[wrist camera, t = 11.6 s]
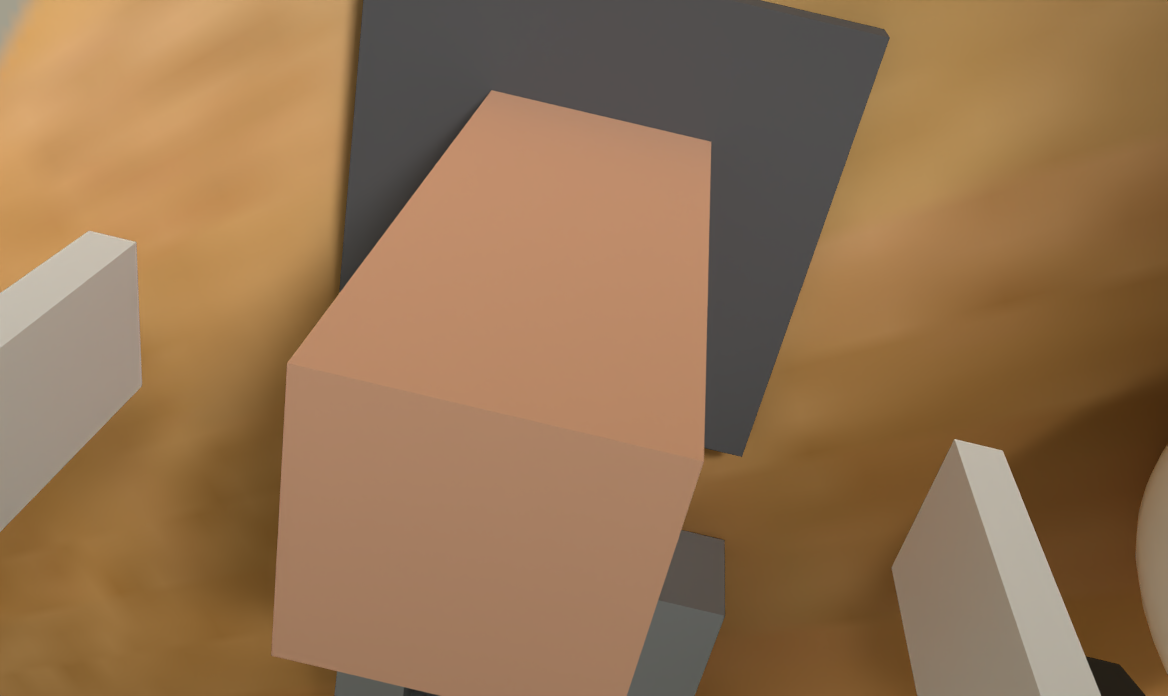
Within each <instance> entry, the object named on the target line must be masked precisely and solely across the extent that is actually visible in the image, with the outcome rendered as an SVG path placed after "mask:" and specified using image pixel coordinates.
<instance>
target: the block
mask: <svg viewBox="0 0 1168 696" xmlns="http://www.w3.org/2000/svg"><path fill="white" fill-rule="evenodd" d="M710 177H711V142H710V141H706V140H702V139H697V138H693V137H689V136H685V135H680V134H676V133H672V132H667V131H663V130H659V129H655V128H650V127H646V126H642V125H638V124H633V123H629V122H625V121H621V120H616V119H612V118H608V117H604V116H599V115H595V114H591V113H587V112H582V111H578V110H574V109H570V108H565V107H561V106H557V105H553V104H548V103H544V102H540V101H535V100H531V99H527V98H523V97H518V96H514V95H510V94H506V93H501V92H497V91H493V90H491V92H490V93H489V94H488V96H487V97H486V98H485V100H484V101H483V102H482V104H481V105H480V106H479V108H478V109H477V110H476V112H475V113H474V114H473V116H472V117H471V118H470V120H469V121H468V122H467V124H466V125H465V126H464V128H463V129H462V130H461V132H460V133H459V134H458V136H457V137H456V138H455V140H454V141H453V142H452V144H451V145H450V146H449V148H448V149H447V150H446V152H445V153H444V154H443V156H442V157H441V158H440V160H439V161H438V162H437V164H436V165H435V166H434V168H433V169H432V170H431V172H430V173H429V174H428V176H427V177H426V178H425V180H424V181H423V182H422V184H421V185H420V186H419V188H418V189H417V190H416V192H415V193H414V194H413V196H412V197H411V198H410V200H409V201H408V202H407V204H406V205H405V206H404V208H403V209H402V210H401V212H400V213H399V214H398V216H397V217H396V218H395V220H394V221H393V222H392V224H391V225H390V226H389V228H388V229H387V230H386V232H385V233H384V234H383V236H382V237H381V238H380V240H379V241H378V242H377V244H376V245H375V246H374V248H373V249H372V250H371V252H370V253H369V254H368V256H367V257H366V258H365V260H364V261H363V262H362V264H361V265H360V266H359V268H358V269H357V270H356V272H355V273H354V274H353V276H352V277H351V278H350V280H349V281H348V282H347V284H346V285H345V286H344V288H343V289H342V290H341V292H340V293H339V294H338V296H337V297H336V298H335V300H334V301H333V302H332V304H331V305H330V306H329V308H328V309H327V310H326V312H325V313H324V314H323V316H322V317H321V318H320V320H319V321H318V322H317V324H316V325H315V327H314V328H313V329H312V331H311V332H310V333H309V335H308V336H307V337H306V339H305V340H304V341H303V343H302V344H301V345H300V347H299V348H298V349H297V351H296V352H295V353H294V355H293V356H292V357H291V359H290V360H289V361H288V363H287V375H286V394H285V412H284V431H283V449H282V468H281V486H280V504H279V523H278V541H277V560H276V578H275V597H274V615H273V634H272V652H271V656H275V657H279V658H283V659H288V660H292V661H296V662H300V663H304V664H309V665H313V666H317V667H321V668H326V669H330V670H334V671H338V672H342V673H347V674H351V675H355V676H359V677H364V678H368V679H372V680H376V681H380V682H385V683H389V684H393V685H397V686H402V687H406V688H410V689H414V690H418V691H423V692H427V693H431V694H435V695H440V696H627V693H628V690H629V687H630V684H631V681H632V678H633V675H634V672H635V669H636V666H637V663H638V660H639V657H640V654H641V651H642V648H643V645H644V642H645V639H646V636H647V633H648V630H649V627H650V624H651V621H652V618H653V614H654V611H655V608H656V605H657V602H658V599H659V596H660V593H661V590H662V587H663V584H664V581H665V578H666V575H667V572H668V569H669V566H670V563H671V560H672V557H673V554H674V551H675V548H676V545H677V542H678V539H679V535H680V532H681V529H682V526H683V523H684V520H685V517H686V514H687V511H688V508H689V505H690V502H691V499H692V496H693V493H694V490H695V487H696V484H697V481H698V478H699V475H700V472H701V469H702V466H703V463H704V436H705V393H706V349H707V306H708V263H709V220H710Z"/></svg>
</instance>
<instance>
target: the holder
mask: <svg viewBox="0 0 1168 696" xmlns="http://www.w3.org/2000/svg"><path fill="white" fill-rule="evenodd" d="M724 617H725V544H724V540H722V539H717V538H713V537H709V536H705V535H700V534H696V533H692V532H688V531H683V530H681V532H680V535H679V539H678V542H677V545H676V548H675V551H674V554H673V557H672V560H671V563H670V566H669V569H668V572H667V575H666V578H665V581H664V584H663V587H662V590H661V593H660V596H659V599H658V602H657V605H656V608H655V611H654V614H653V618H652V621H651V624H650V627H649V630H648V633H647V636H646V639H645V642H644V645H643V648H642V651H641V654H640V657H639V660H638V663H637V666H636V669H635V672H634V675H633V678H632V681H631V684H630V687H629V690H628V693H627V696H695V693H696V691H697V688H698V685H699V683H700V680H701V677H702V675H703V672H704V670H705V667H706V664H707V662H708V659H709V656H710V654H711V651H712V649H713V646H714V643H715V641H716V638H717V636H718V633H719V630H720V628H721V625H722V622H723V620H724ZM335 696H440V695H435V694H431V693H427V692H423V691H418V690H414V689H410V688H406V687H402V686H397V685H393V684H389V683H385V682H380V681H376V680H372V679H368V678H364V677H359V676H355V675H351V674H347V673H342V672H338V671H337V677H336V686H335Z"/></svg>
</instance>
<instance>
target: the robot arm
mask: <svg viewBox="0 0 1168 696" xmlns="http://www.w3.org/2000/svg"><path fill="white" fill-rule="evenodd" d="M141 387H142V371H141V346H140V321H139V296H138V271H137V246H136V242H134V241H130V240H126V239H121V238H117V237H113V236H109V235H105V234H101V233H96V232H92V231H88V232H87V233H85V234H84V235H82V236H81V237H79V238H78V239H77V240H75V241H74V242H72V243H71V244H69V245H68V246H67V247H65V248H64V249H62V250H61V251H59V252H58V253H57V254H55V255H54V256H52V257H51V258H50V259H48V260H47V261H45V262H44V263H42V264H41V265H40V266H38V267H37V268H35V269H34V270H32V271H31V272H30V273H28V274H27V275H25V276H24V277H23V278H21V279H20V280H18V281H17V282H15V283H14V284H13V285H11V286H10V287H8V288H7V289H5V290H4V291H3V292H1V293H0V532H1V531H2V530H3V529H4V528H5V527H6V526H7V524H8V523H9V522H10V521H11V520H12V519H13V518H14V517H15V516H16V515H17V514H18V513H19V512H20V511H21V510H22V509H23V508H24V507H25V506H26V505H27V504H28V503H29V502H30V501H31V500H32V499H33V498H34V497H35V496H36V495H37V494H38V493H39V492H40V491H41V489H42V488H43V487H44V486H45V485H46V484H47V483H48V482H49V481H50V480H51V479H52V478H53V477H54V476H55V475H56V474H57V473H58V472H59V471H60V470H61V469H62V468H63V467H64V466H65V465H66V464H67V463H68V462H69V461H70V460H71V459H72V458H73V457H74V456H75V455H76V453H77V452H78V451H79V450H80V449H81V448H82V447H83V446H84V445H85V444H86V443H87V442H88V441H89V440H90V439H91V438H92V437H93V436H94V435H95V434H96V433H97V432H98V431H99V430H100V429H101V428H102V427H103V426H104V425H105V424H106V423H107V422H108V421H109V420H110V418H111V417H112V416H113V415H114V414H115V413H116V412H117V411H118V410H119V409H120V408H121V407H122V406H123V405H124V404H125V403H126V402H127V401H128V400H129V399H130V398H131V397H132V396H133V395H134V394H135V393H136V392H137V391H138V390H139V389H140V388H141ZM892 573H893V578H894V583H895V588H896V593H897V598H898V602H899V607H900V612H901V617H902V622H903V627H904V632H905V637H906V642H907V647H908V652H909V657H910V662H911V667H912V672H913V677H914V682H915V687H916V692H917V696H1145V694H1144V693H1143V692H1142V691H1141V690H1140V688H1139V687H1138V686H1137V685H1136V684H1135V683H1134V681H1133V680H1132V679H1131V678H1130V677H1129V675H1128V674H1127V673H1126V672H1125V671H1124V669H1123V668H1122V667H1121V666H1120V665H1119V664H1115V663H1111V662H1107V661H1102V660H1098V659H1094V658H1090V657H1086V656H1085V654H1084V652H1083V649H1082V647H1081V644H1080V642H1079V639H1078V637H1077V634H1076V632H1075V629H1074V627H1073V624H1072V622H1071V619H1070V617H1069V614H1068V612H1067V609H1066V607H1065V604H1064V602H1063V599H1062V597H1061V594H1060V592H1059V589H1058V587H1057V585H1056V582H1055V580H1054V577H1053V575H1052V572H1051V570H1050V567H1049V565H1048V562H1047V560H1046V557H1045V555H1044V552H1043V550H1042V547H1041V545H1040V542H1039V540H1038V537H1037V535H1036V532H1035V530H1034V527H1033V525H1032V522H1031V520H1030V517H1029V515H1028V512H1027V510H1026V507H1025V505H1024V502H1023V500H1022V497H1021V495H1020V492H1019V490H1018V487H1017V485H1016V482H1015V480H1014V478H1013V475H1012V473H1011V470H1010V468H1009V465H1008V463H1007V460H1006V458H1005V455H1004V453H1003V451H1002V450H998V449H994V448H990V447H986V446H981V445H977V444H973V443H969V442H965V441H961V440H956V439H954V441H953V443H952V445H951V447H950V449H949V451H948V453H947V455H946V457H945V459H944V461H943V463H942V465H941V468H940V470H939V472H938V474H937V476H936V478H935V480H934V482H933V484H932V486H931V488H930V490H929V492H928V494H927V496H926V498H925V500H924V502H923V504H922V506H921V508H920V510H919V512H918V514H917V517H916V519H915V521H914V523H913V525H912V527H911V529H910V531H909V533H908V535H907V537H906V539H905V541H904V543H903V545H902V547H901V549H900V551H899V553H898V555H897V557H896V559H895V561H894V563H893V566H892Z"/></svg>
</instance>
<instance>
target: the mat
mask: <svg viewBox="0 0 1168 696" xmlns="http://www.w3.org/2000/svg"><path fill="white" fill-rule="evenodd" d="M889 38H890V37H889V36H888V34H887V33H886V31H885V30H884V29H881V28H876V27H872V26H868V25H864V24H859V23H855V22H851V21H847V20H842V19H838V18H834V17H829V16H825V15H821V14H817V13H812V12H808V11H804V10H800V9H795V8H791V7H787V6H783V5H778V4H774V3H770V2H765V1H761V0H363V12H362V24H361V36H360V48H359V60H358V72H357V84H356V97H355V109H354V121H353V133H352V145H351V157H350V169H349V181H348V194H347V206H346V218H345V230H344V242H343V254H342V266H341V279H340V291H339V293H340V292H341V290H342V289H343V288H344V286H345V285H346V284H347V282H348V281H349V280H350V278H351V277H352V276H353V274H354V273H355V272H356V270H357V269H358V268H359V266H360V265H361V264H362V262H363V261H364V260H365V258H366V257H367V256H368V254H369V253H370V252H371V250H372V249H373V248H374V246H375V245H376V244H377V242H378V241H379V240H380V238H381V237H382V236H383V234H384V233H385V232H386V230H387V229H388V228H389V226H390V225H391V224H392V222H393V221H394V220H395V218H396V217H397V216H398V214H399V213H400V212H401V210H402V209H403V208H404V206H405V205H406V204H407V202H408V201H409V200H410V198H411V197H412V196H413V194H414V193H415V192H416V190H417V189H418V188H419V186H420V185H421V184H422V182H423V181H424V180H425V178H426V177H427V176H428V174H429V173H430V172H431V170H432V169H433V168H434V166H435V165H436V164H437V162H438V161H439V160H440V158H441V157H442V156H443V154H444V153H445V152H446V150H447V149H448V148H449V146H450V145H451V144H452V142H453V141H454V140H455V138H456V137H457V136H458V134H459V133H460V132H461V130H462V129H463V128H464V126H465V125H466V124H467V122H468V121H469V120H470V118H471V117H472V116H473V114H474V113H475V112H476V110H477V109H478V108H479V106H480V105H481V104H482V102H483V101H484V100H485V98H486V97H487V96H488V94H489V93H490V92H491V90H493V91H497V92H501V93H506V94H510V95H514V96H518V97H523V98H527V99H531V100H535V101H540V102H544V103H548V104H553V105H557V106H561V107H565V108H570V109H574V110H578V111H582V112H587V113H591V114H595V115H599V116H604V117H608V118H612V119H616V120H621V121H625V122H629V123H633V124H638V125H642V126H646V127H650V128H655V129H659V130H663V131H667V132H672V133H676V134H680V135H685V136H689V137H693V138H697V139H702V140H706V141H710V142H711V177H710V220H709V263H708V306H707V349H706V393H705V436H704V448H707V449H711V450H715V451H720V452H724V453H728V454H732V455H737V456H741V457H742V455H743V452H744V449H745V446H746V443H747V441H748V438H749V435H750V432H751V429H752V426H753V424H754V421H755V418H756V415H757V412H758V409H759V407H760V404H761V401H762V398H763V395H764V392H765V390H766V387H767V384H768V381H769V378H770V375H771V373H772V370H773V367H774V364H775V361H776V358H777V356H778V353H779V350H780V347H781V344H782V341H783V339H784V336H785V333H786V330H787V327H788V324H789V322H790V319H791V316H792V313H793V310H794V307H795V305H796V302H797V299H798V296H799V293H800V290H801V288H802V285H803V282H804V279H805V276H806V273H807V271H808V268H809V265H810V262H811V259H812V256H813V254H814V251H815V248H816V245H817V242H818V239H819V237H820V234H821V231H822V228H823V225H824V222H825V219H826V217H827V214H828V211H829V208H830V205H831V202H832V200H833V197H834V194H835V191H836V188H837V185H838V183H839V180H840V177H841V174H842V171H843V168H844V166H845V163H846V160H847V157H848V154H849V151H850V149H851V146H852V143H853V140H854V137H855V134H856V132H857V129H858V126H859V123H860V120H861V117H862V115H863V112H864V109H865V106H866V103H867V100H868V98H869V95H870V92H871V89H872V86H873V83H874V81H875V78H876V75H877V72H878V69H879V66H880V64H881V61H882V58H883V55H884V52H885V49H886V47H887V44H888V41H889Z"/></svg>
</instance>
